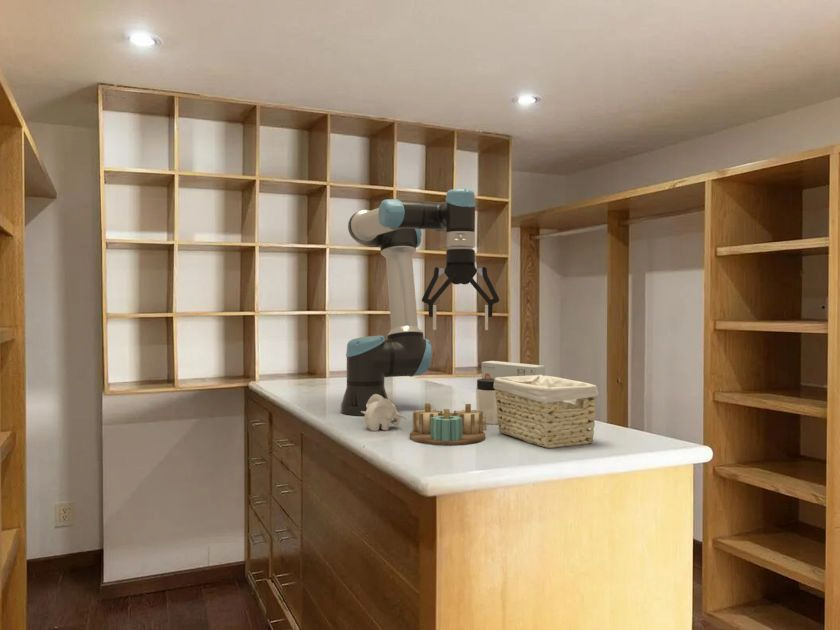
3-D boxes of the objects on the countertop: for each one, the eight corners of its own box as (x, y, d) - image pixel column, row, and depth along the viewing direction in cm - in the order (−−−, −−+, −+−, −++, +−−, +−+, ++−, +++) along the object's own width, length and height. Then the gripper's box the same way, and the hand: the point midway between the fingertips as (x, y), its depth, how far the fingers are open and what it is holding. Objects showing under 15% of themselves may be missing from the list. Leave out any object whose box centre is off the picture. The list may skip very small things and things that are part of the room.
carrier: (401, 432, 180) (401, 402, 180) (470, 429, 186) (470, 399, 185) (421, 447, 162) (421, 413, 162) (497, 442, 167) (497, 409, 167)
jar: (488, 425, 191) (488, 382, 191) (470, 421, 198) (470, 379, 197) (512, 422, 196) (512, 380, 195) (494, 418, 203) (494, 377, 202)
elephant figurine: (409, 430, 183) (409, 397, 183) (364, 433, 180) (364, 399, 180) (399, 424, 193) (399, 392, 192) (356, 427, 189) (356, 394, 189)
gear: (431, 435, 172) (431, 414, 172) (462, 435, 171) (462, 415, 171) (429, 441, 164) (429, 420, 164) (461, 441, 164) (461, 420, 164)
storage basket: (601, 445, 165) (601, 383, 165) (544, 451, 158) (545, 386, 158) (542, 428, 187) (542, 374, 187) (490, 433, 180) (490, 376, 180)
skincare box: (480, 413, 213) (480, 361, 213) (492, 411, 217) (492, 360, 216) (535, 421, 197) (535, 366, 197) (546, 419, 201) (547, 364, 201)
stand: (462, 427, 188) (462, 416, 188) (481, 426, 189) (481, 415, 189) (469, 431, 182) (469, 419, 182) (489, 430, 184) (489, 418, 184)
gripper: (412, 248, 179) (412, 330, 179) (509, 247, 177) (508, 330, 177) (414, 250, 186) (414, 329, 187) (507, 249, 185) (507, 329, 185)
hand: (460, 329), depth 182 cm, fingers open, 13 cm apart
